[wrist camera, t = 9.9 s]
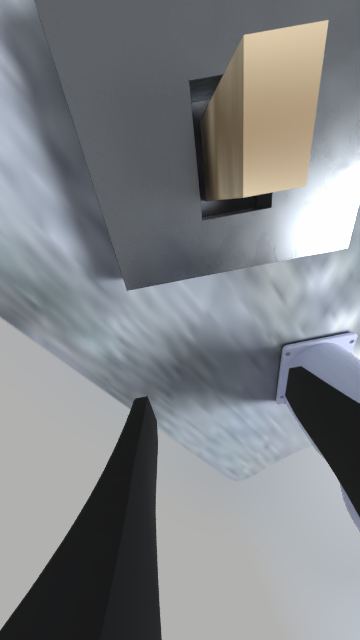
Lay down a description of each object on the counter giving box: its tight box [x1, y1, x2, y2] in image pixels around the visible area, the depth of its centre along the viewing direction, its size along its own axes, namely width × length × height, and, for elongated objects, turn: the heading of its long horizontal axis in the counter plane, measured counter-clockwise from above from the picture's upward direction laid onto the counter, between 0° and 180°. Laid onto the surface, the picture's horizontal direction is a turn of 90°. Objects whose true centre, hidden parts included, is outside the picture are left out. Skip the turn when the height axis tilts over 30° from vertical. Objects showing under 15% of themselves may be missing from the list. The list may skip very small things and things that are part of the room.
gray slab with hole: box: [34, 0, 360, 291], centre depth 12 cm, size 13×16×2 cm
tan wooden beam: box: [200, 20, 329, 201], centre depth 10 cm, size 4×3×7 cm, turn 9°
